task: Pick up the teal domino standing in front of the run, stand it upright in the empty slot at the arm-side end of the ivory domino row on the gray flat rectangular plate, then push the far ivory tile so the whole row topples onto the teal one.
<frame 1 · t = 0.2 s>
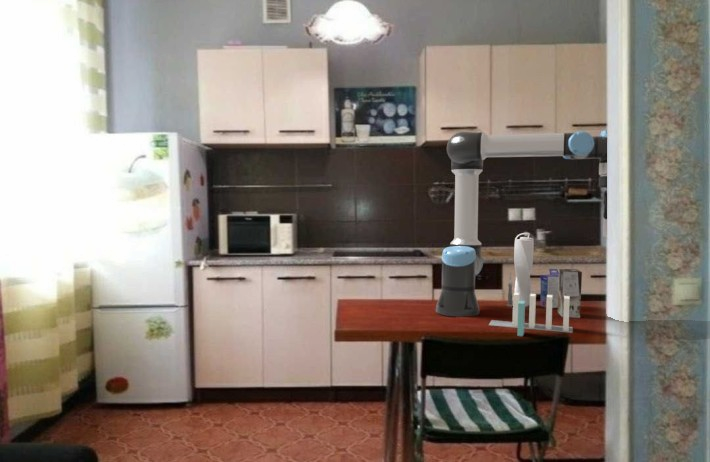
hand: (608, 238, 188), 28 cm above the table, tool pointing down, fingers open, 13 cm apart
teal domino: (520, 335, 163), on the table
gray flat rectangular plate: (530, 327, 174), on the table
ink cartridge box: (554, 307, 210), on the table
domino 1: (565, 329, 170), resting on gray flat rectangular plate
domino 3: (531, 326, 174), resting on gray flat rectangular plate
coffee box: (568, 315, 194), on the table
domino 4: (515, 324, 175), resting on gray flat rectangular plate
domino 2: (548, 327, 172), resting on gray flat rectangular plate
skyscraper: (521, 306, 211), on the table
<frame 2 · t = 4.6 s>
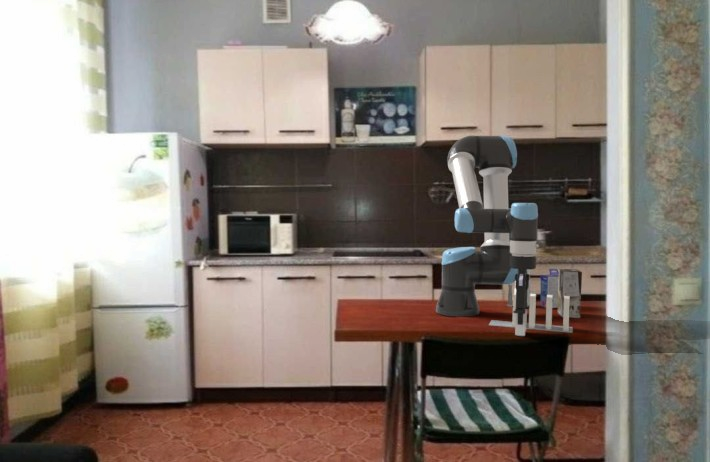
hand: (520, 332, 163), 1 cm above the table, tool pointing down, fingers closed on teal domino, 5 cm apart
teal domino: (520, 335, 163), on the table, touching gripper
everything else where it was.
when the fingers open (2 cm above the table, at t = 10.0 s): teal domino stays where it is, resting on gray flat rectangular plate.
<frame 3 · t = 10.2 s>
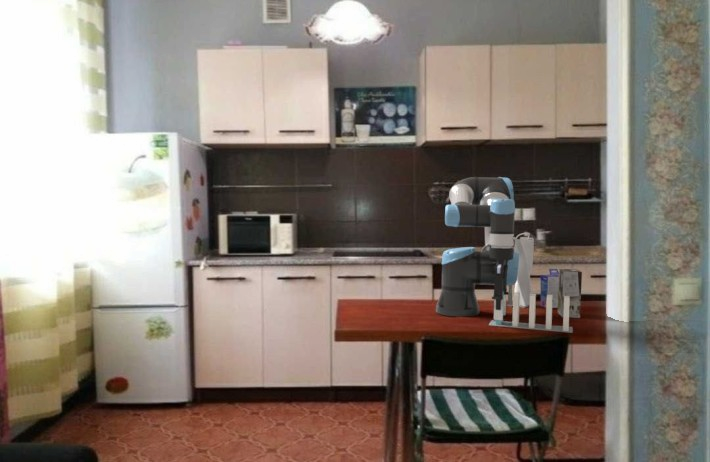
hand: (499, 317, 177), 2 cm above the table, tool pointing down, fingers open, 8 cm apart
teal domino: (499, 323, 177), resting on gray flat rectangular plate
everything else where it was.
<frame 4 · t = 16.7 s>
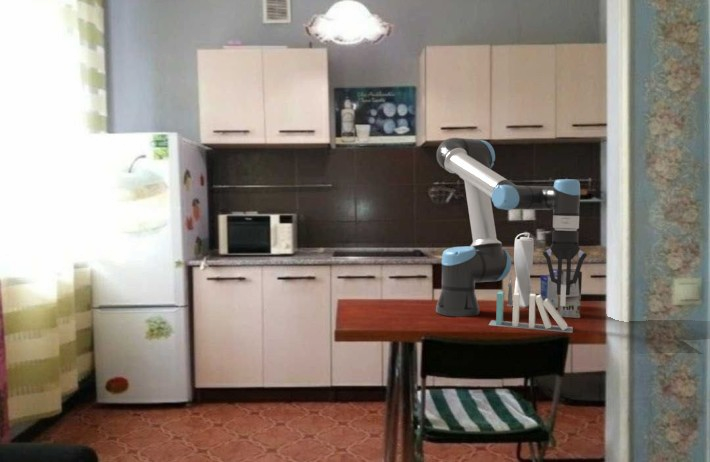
hand: (562, 305, 170), 8 cm above the table, tool pointing down, fingers closed
domino 1: (565, 327, 170), point 1 cm above the table, tilted 38°, touching domino 2
domino 3: (531, 326, 174), resting on gray flat rectangular plate, touching domino 2
domino 2: (548, 326, 172), point 1 cm above the table, tilted 20°, touching domino 1, domino 3
everything else where it was.
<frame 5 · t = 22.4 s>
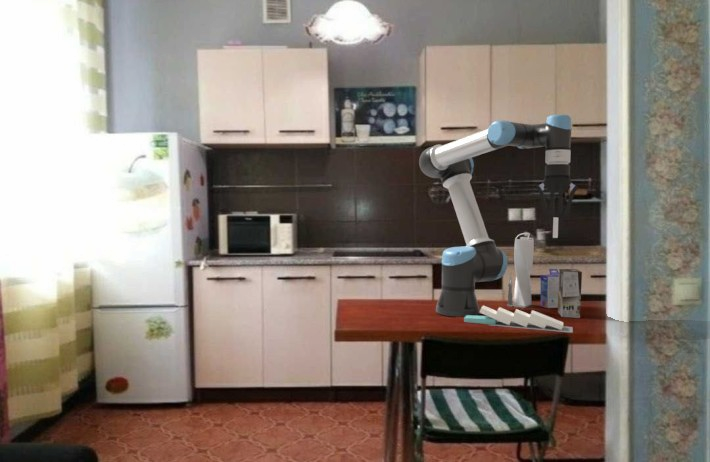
hand: (555, 237, 177), 28 cm above the table, tool pointing down, fingers closed
teal domino: (496, 320, 178), point 1 cm above the table, tilted 93°, touching domino 4, gray flat rectangular plate
domino 1: (562, 326, 170), point 1 cm above the table, tilted 72°, touching domino 2
domino 3: (527, 323, 174), point 1 cm above the table, tilted 70°, touching domino 2, domino 4, gray flat rectangular plate
domino 4: (510, 321, 176), point 1 cm above the table, tilted 70°, touching domino 3, teal domino
domino 2: (545, 325, 172), point 1 cm above the table, tilted 72°, touching domino 1, domino 3, gray flat rectangular plate
everything else where it was.
at the end: domino 1 tilted 72°; teal domino tilted 93°; teal domino inside the target area (0.5 cm from its centre), point 1.3 cm above the table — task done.
